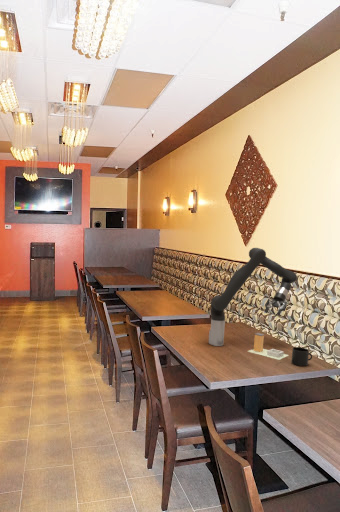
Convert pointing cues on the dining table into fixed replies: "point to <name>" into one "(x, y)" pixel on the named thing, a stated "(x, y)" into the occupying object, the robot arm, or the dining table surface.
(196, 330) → the dining table surface
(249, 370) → the dining table surface
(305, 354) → the mug
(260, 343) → the orange cylinder
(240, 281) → the robot arm
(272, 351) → the pale green base plate
